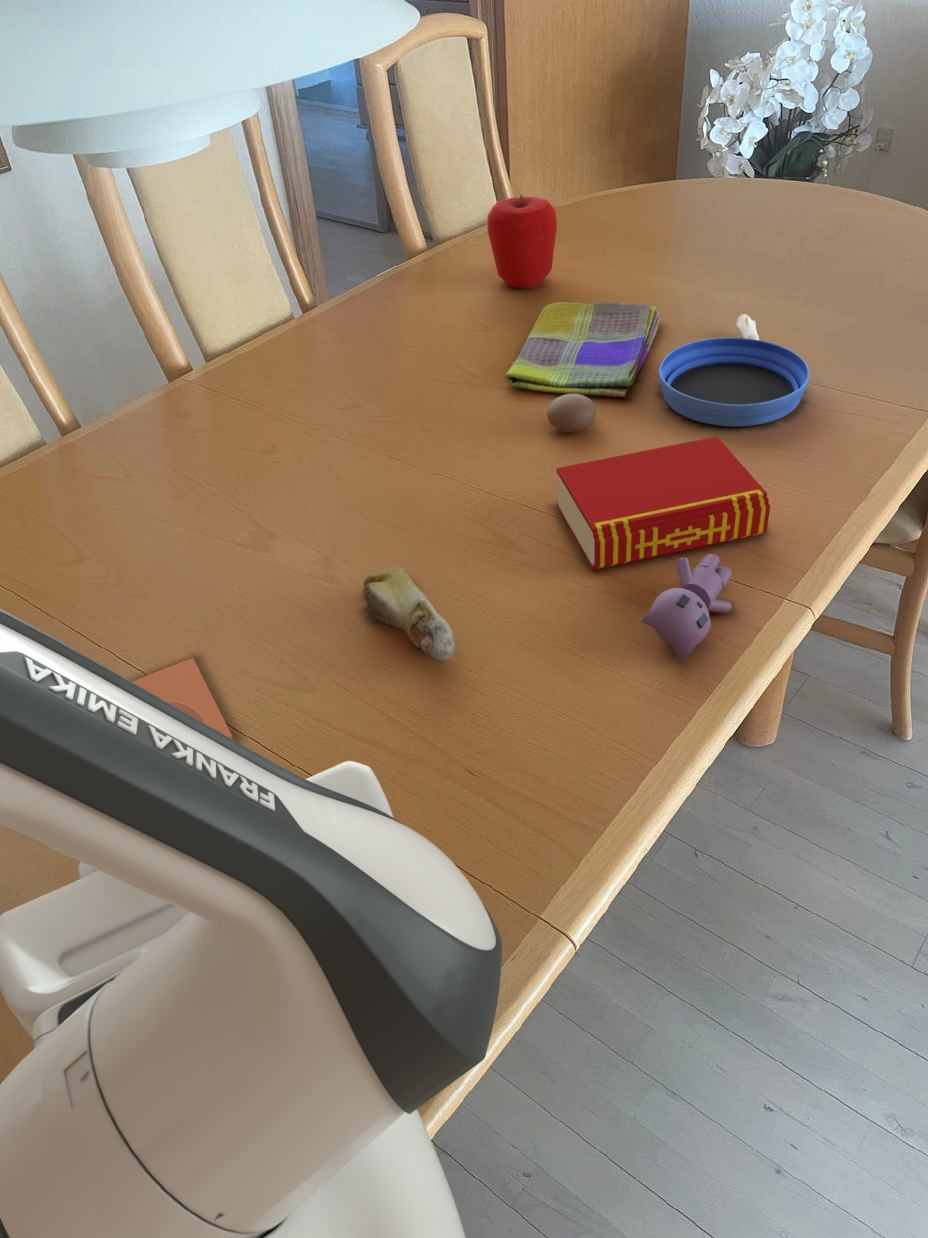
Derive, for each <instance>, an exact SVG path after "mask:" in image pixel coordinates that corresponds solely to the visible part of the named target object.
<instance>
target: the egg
mask: <svg viewBox="0 0 928 1238" xmlns="http://www.w3.org/2000/svg"><path fill="white" fill-rule="evenodd" d="M596 407H597V406H596V405H595V402H593V400H591V399H590V398H589V397H588V396H585V395H584V394H569V393H566V394H563V395H560V396H557V397H556V398H554V400H553V401H551V402H550V404H549V405H548V407H547V410H546V418H547V420H548V422H549V424H550V425H551V426H552V427H553V428H554V429H556V430H559V431H561V432H565V433H576V432H580V431H583V430H585V429H587V428H589V427H590V426H591V425H592V424H593V423H594V421H595V419H596V416H597V408H596Z"/></svg>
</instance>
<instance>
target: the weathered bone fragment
mask: <svg viewBox="0 0 928 1238" xmlns="http://www.w3.org/2000/svg"><path fill="white" fill-rule="evenodd" d="M363 586H364V587H363V596H364V600H365V602H366V606H367V608H368V612H369V614H370V616H371V617H372V618H373V619H375V620H377V621H379V622H381V623H383V624H385V625H388V626H389V625H390V626H393V627H394V628H395V627H396V628H397V629H401V630H404V631H405V634H406V635H407V636H408V637H409V638H410V640H411V642H412V644H413V645H415V646H416V647H417V648H418V649H422V650H423V651H424V653H425V654H426V656H427V657H428V658H430V659H431V660H432V661H433V662H435V663H440V664H441V663H444V662H448V661H449V660H450V659H451V658H452V657H453V655H454V653H455V651H456V638H455V635H454V632H453V630H452V629H451V626H450V624H449V623H448V622H447V621H446V620H445V619H444V618H443V617H442V616H441V615H440V614H439V613H438V612H437V611H436V609H435V607H434V606H433V605H432V603H431V602H430V601H429V599H428V597H427V596H426V594H425V593H424V592H422V590H421V589H419V587H418V586H417V585H416V584H415V582H413V580H412V579H411V577H410V576H409V574H408V573H407V571H406V570H405V569H404V568H403V567H400V566H399V567H397V566H396V567H390V568H386V569H385V568H384V569H383V570H379V571H377V572H373V573H371V574H370V575H368V576H367V577H365V578H364V581H363Z"/></svg>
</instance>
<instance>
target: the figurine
mask: <svg viewBox="0 0 928 1238" xmlns="http://www.w3.org/2000/svg"><path fill="white" fill-rule="evenodd" d="M719 564H720V557H719V556H718V555H717V554H714V553H708V554H706V555H704V556H703V557H702V559H701V560H700V561H699V562H698V564H696V567H694V569H693V570H692V571H691V567H690V562H689V559H688V558H687V557H680V558H678V559H676V561H675V565H676V566H675V567H676V571H677V574H678V579H679V584H680V588H679V587H673V588H670V589H667V590H664V591H662V592H661V593H660V594H659V595H657V597H656V599H654V601H653V603H652V605H651V608H650V609H649V610H648V612H647V613H645V616H644V617H643V618H642V619H641V620H640V623H642V624H643V625H646V626H648V627H650V628H652V629H653V630H654V632H655V634H656V635H657V636H658V637H659V638H660V640H662V641H663V642H664V643H665V644H666V645H669V646H671V647H672V649H673V651H674V653H675V654H676V656H677V657H678V660H680V663H681V664H682V665H684V664H685V663H686V661H687V660H688V658H689V657H690V655H691V654H692V652H693V650H694V649H695V648H696V646H697V645H699V644H701V642H702V641H703V640H704V639H705V637H706V636H707V634H708V633H709V632H710V630H711V626H712V621H711V619H710V612H714V613H720V614H729V612H731V610H732V603H731V602H730V601H728V600H722V599H716V598H717V597H718V595H720V593H721V591H722V590H723V589H724V587H725V586H726V584H727V583H728V582H729V580H730V579H731V578H732V574H733V573H732V570H731V568H730V567H728V566H719ZM718 566H719V567H718Z"/></svg>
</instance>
